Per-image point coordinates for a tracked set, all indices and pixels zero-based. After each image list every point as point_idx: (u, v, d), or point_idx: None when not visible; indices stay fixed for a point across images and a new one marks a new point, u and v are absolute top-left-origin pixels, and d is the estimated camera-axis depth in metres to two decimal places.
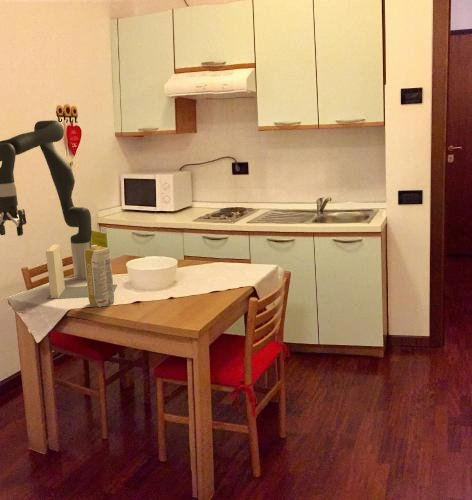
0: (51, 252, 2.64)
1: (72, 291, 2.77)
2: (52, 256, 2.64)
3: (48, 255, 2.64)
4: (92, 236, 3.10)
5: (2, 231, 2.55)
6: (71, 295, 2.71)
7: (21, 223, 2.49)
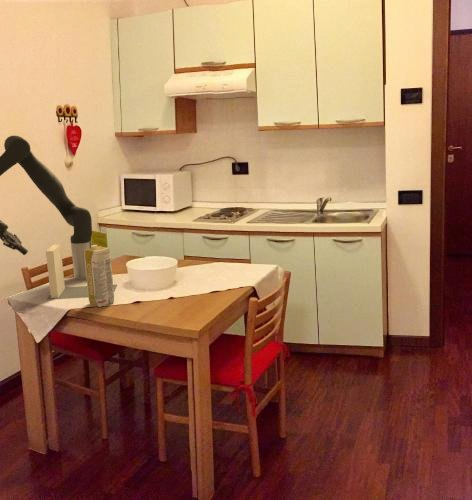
0: (51, 252, 2.64)
1: (72, 291, 2.77)
2: (52, 256, 2.64)
3: (48, 255, 2.64)
4: (92, 236, 3.10)
5: None
6: (71, 295, 2.71)
7: (13, 248, 2.67)
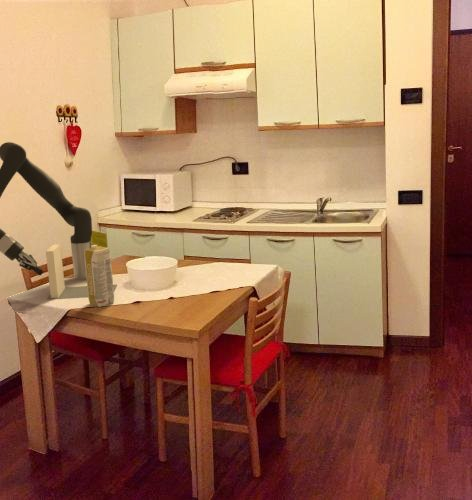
0: (51, 252, 2.64)
1: (72, 291, 2.77)
2: (52, 256, 2.64)
3: (48, 255, 2.64)
4: (92, 236, 3.10)
5: None
6: (71, 295, 2.71)
7: (29, 269, 2.69)
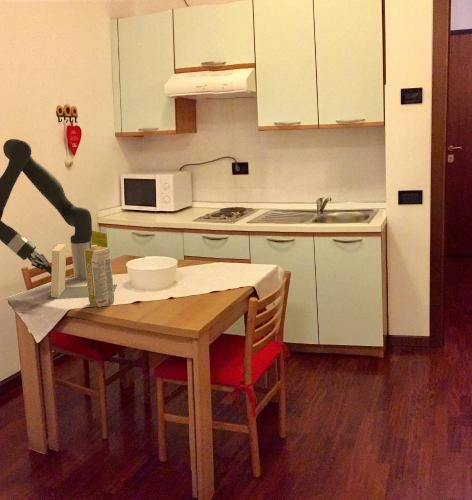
0: (57, 252, 2.64)
1: (72, 291, 2.77)
2: (58, 256, 2.65)
3: (54, 254, 2.64)
4: (92, 236, 3.10)
5: None
6: (71, 295, 2.71)
7: (41, 269, 2.70)
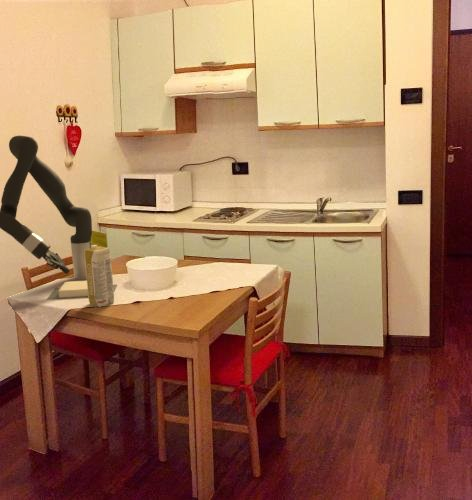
0: None
1: None
2: None
3: None
4: (92, 236, 3.10)
5: None
6: None
7: None
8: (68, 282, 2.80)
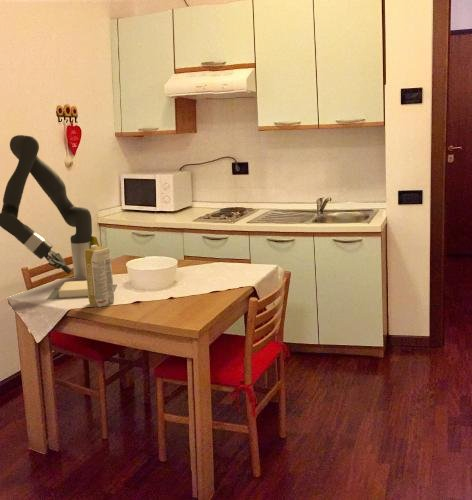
0: None
1: None
2: None
3: None
4: None
5: None
6: None
7: None
8: (68, 282, 2.80)
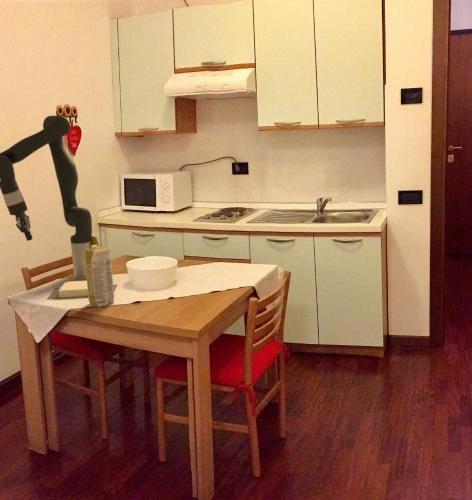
0: None
1: None
2: None
3: None
4: None
5: None
6: None
7: (21, 231, 2.70)
8: (68, 282, 2.80)
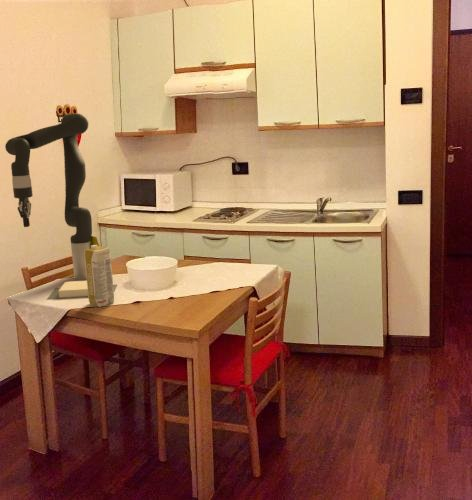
0: None
1: None
2: None
3: None
4: None
5: None
6: None
7: None
8: (68, 282, 2.80)
